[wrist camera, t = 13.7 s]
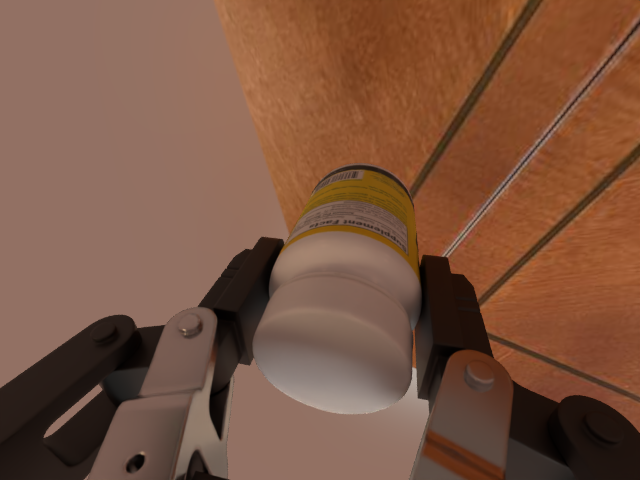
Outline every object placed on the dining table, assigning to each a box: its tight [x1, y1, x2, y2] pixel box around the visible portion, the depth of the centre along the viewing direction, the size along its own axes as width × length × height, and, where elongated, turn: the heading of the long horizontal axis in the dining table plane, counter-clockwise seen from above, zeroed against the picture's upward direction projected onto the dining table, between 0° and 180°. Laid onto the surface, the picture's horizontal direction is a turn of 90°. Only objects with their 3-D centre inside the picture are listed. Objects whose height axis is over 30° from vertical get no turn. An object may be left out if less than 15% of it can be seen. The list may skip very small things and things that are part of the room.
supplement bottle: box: [252, 163, 422, 414], centre depth 11 cm, size 5×5×8 cm
